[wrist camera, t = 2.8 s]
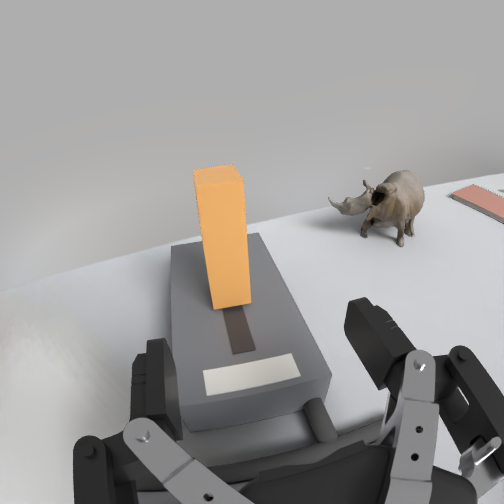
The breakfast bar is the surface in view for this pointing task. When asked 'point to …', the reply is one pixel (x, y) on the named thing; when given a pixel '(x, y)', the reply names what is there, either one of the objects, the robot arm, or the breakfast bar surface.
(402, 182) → the rhinoceros figurine
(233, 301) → the handle
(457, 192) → the notebook
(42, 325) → the breakfast bar surface
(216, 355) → the breaker box
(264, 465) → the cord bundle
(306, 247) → the breakfast bar surface
